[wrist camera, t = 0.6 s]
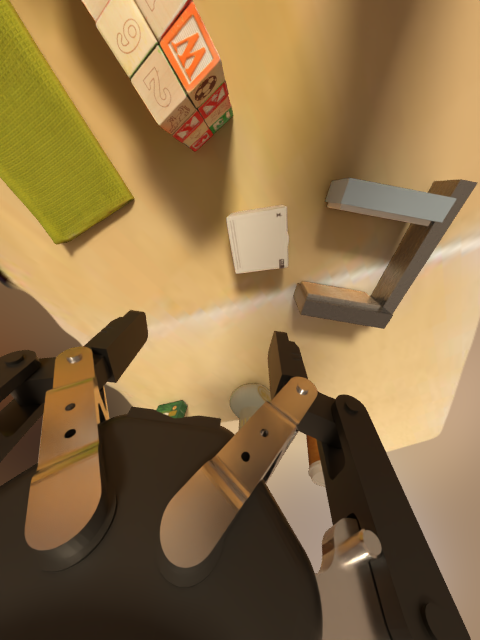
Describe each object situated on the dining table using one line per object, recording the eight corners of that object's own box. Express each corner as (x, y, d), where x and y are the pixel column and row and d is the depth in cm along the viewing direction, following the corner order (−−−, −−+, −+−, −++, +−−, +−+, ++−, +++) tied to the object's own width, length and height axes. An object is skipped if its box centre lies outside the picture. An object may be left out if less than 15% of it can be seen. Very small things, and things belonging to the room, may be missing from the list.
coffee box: (163, 411, 56) (141, 464, 45) (157, 405, 55) (132, 458, 44) (188, 405, 54) (171, 460, 43) (182, 399, 53) (163, 453, 42)
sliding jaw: (331, 180, 27) (350, 177, 22) (418, 197, 27) (456, 198, 22) (323, 206, 28) (338, 209, 23) (405, 222, 29) (438, 228, 24)
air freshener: (225, 387, 50) (219, 427, 41) (251, 372, 47) (250, 412, 38) (254, 409, 54) (254, 450, 45) (280, 397, 51) (285, 438, 42)
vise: (337, 162, 26) (360, 153, 20) (448, 184, 26) (501, 181, 21) (293, 295, 36) (300, 314, 30) (374, 309, 36) (396, 330, 31)
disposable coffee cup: (292, 426, 57) (300, 477, 46) (320, 412, 53) (336, 464, 42) (314, 440, 60) (326, 491, 49) (342, 427, 56) (362, 480, 45)
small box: (229, 212, 30) (224, 215, 26) (283, 203, 29) (288, 205, 25) (237, 264, 34) (234, 275, 30) (285, 258, 33) (289, 268, 29)
